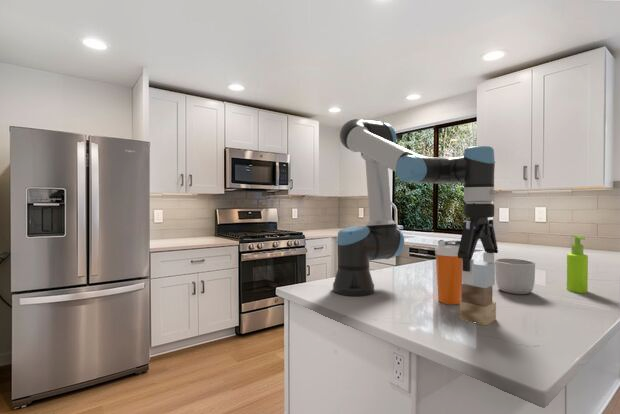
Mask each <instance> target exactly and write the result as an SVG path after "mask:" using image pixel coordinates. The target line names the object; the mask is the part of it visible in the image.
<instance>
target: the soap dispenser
mask: <svg viewBox="0 0 620 414" xmlns="http://www.w3.org/2000/svg"><path fill="white" fill-rule="evenodd" d="M572 237H573V239H574V242H573V244H571V247H570V248H571V251H570V253H567V254H566V290H567V291H568V292H572V293H580V294H584V293H588V291H589V290H588V289H589V288H588V284H589V283H588V280H589V278H588V276H589V273H588V270H589V269H588V267H589V266H588V264H589V256H588V255H587V254H584V244H581V240H585V236H582V235H572Z"/></svg>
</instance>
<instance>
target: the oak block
mask: <svg viewBox="0 0 620 414" xmlns="http://www.w3.org/2000/svg"><path fill="white" fill-rule="evenodd" d="M462 319H463V321H466V320H468V321H467V322H469V321H472V322H471V323H473V322H476V323H475V324H477V323H479V324H478V325H481V324H483V325H482V326H485V325H487V326H489V325H490V324H491V323H493V322H495V319H497V301H494V300H492V302H491V303H490V304H488V305H486V306H485V307H483V306H479V305H474V304H470V303H465V302H461V301H460V304H459V320H462ZM492 321H493V322H492ZM489 323H490V324H489Z"/></svg>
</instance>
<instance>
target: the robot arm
mask: <svg viewBox="0 0 620 414" xmlns="http://www.w3.org/2000/svg"><path fill="white" fill-rule="evenodd" d="M339 132H340V133H339V139H340V142H341V144H342V145H343V146H344V148H346V149H347V150H349V151H351V152H353V153H360V156H361V158H362V159H363V160H364V161H365V174H366V189H367V203H368V215H369V218H368V219H369V221H368V222H367V223H366V225H365V226H364V225H363V226H362V225H360V226H359V225H357V226H350V227H345V228H342V229H340V230H339V231H338V233H337V239H336V245H337V249H336V250H337V271H336V274H335V276H334V277H335V278H334V281H333V283H332V290H333V292H334V293H335V294H339V295H342V296H349V297H362V296H363V297H364V296H369V295H371V294H374V292H375V284H374V281H373V279H372V278H373V277H372V274H371V270H370V261H379V260H390V259H392V258H396V257H398V256H399V255H400V254H401V252H402V251H403V249H404V246H405V237H404V234H403V233H402V230H400V229H399V228H397V223H396V222H395V221H394V220H393V217H392V216H393V215H392V205H391V204H392V203H391V191H390V177H389V175H390V174H389V169H390V170H392V171H393V172H395V174H396V176H397V178H398V179H399V180H400V181H401V182H405V183H410V184H415V183H418V184H419V183H420V184H421V183H423V184H425V183H426V184H428V183H429V184H430V183H431V184H434V185H435V184H436V185H446V184H455V183H456V184H458V183H463V185H464V186H463V201H464V202H465V203H464V205H463V216H464V217H465V218H469V220H468V221H467V220H464V221H463V225H462V233H461V238H460V240H459V241H460V245H459V250H458V258H462V284H463V283H468V284H474V260H475V259H474V258H473V255H474V254H475V250H476V248H477V244H478V241H479V240H480V241H481V244H482V247H483V250H484V252H482V253H483V255H482V257H483V258H482V260H483V261H484V262H492V263H495V254H498V253H499V249H498V244H497V238H496V237H497V236H496V234H495V229H494V219H491V218H493V217H495V204H494V203H493V202H495V194H496V193H497V191H496V190H495V165H496V161H495V160H496V159H495V150H494V148H493V146H487V145H479V146H469V147H466V148H465V149H464V151H463V156H458V157H456V156H455V157H447V158H446V157H436V156H435V157H434V156H425V155H422V154H419V153H416V152H413V151H412V150H410V149H407V148H406V147H403V146H401V145H398V144H396V143H397V134H396V131H395V128H394V127H393V126H392V125H391V124H389V123H387V122H383V121H379V120H378V121H376V120H367V119H362V118H354V119H350V120H348V121H346V122H345V123H344V124H343V125H342V127H341V129H340V131H339ZM489 218H490V219H489Z"/></svg>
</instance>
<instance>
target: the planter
mask: <svg viewBox="0 0 620 414" xmlns="http://www.w3.org/2000/svg"><path fill="white" fill-rule="evenodd" d="M494 263H495V281H496V283H495V284H496V286H497V288H498V289H499V290H501V291H502V292H504V293H509V294H514V295H526V294H530V293H532V292H533V289H534V286H535V277H536V275H535V274H536V263H535V262H534V261H532V260H527V259H520V258H509V257H508V258H507V257H506V258H505V257H504V258H496V259H494Z"/></svg>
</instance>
